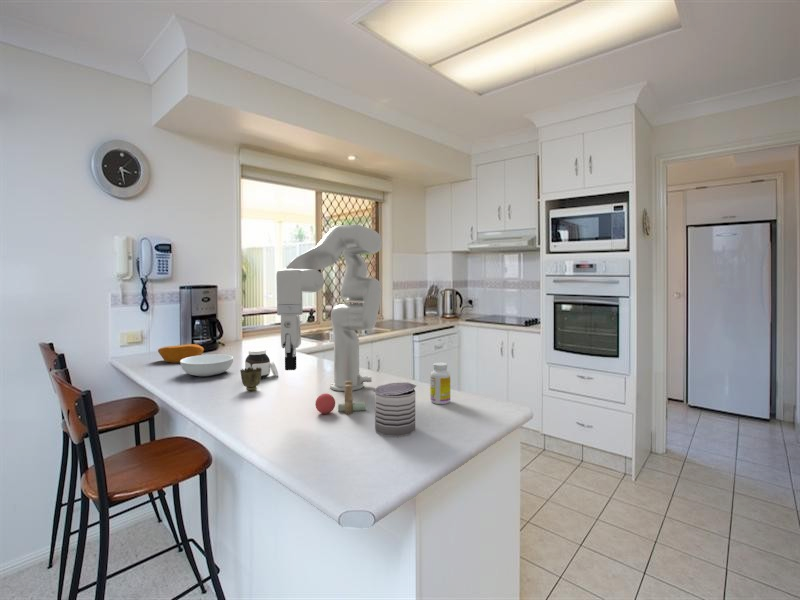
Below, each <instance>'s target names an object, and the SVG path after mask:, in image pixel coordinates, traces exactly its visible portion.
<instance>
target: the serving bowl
mask: <svg viewBox="0 0 800 600" xmlns="http://www.w3.org/2000/svg"><path fill="white" fill-rule="evenodd" d="M233 362H234V356H233V355H229V354H219V353H218V354H215V353H214V354H213V353H212V354H211V353H210V354H202V355H199V356H192V357H187V358H184V359H182V360H180V363H179V364H180V367H181V369H182V371H184V372H185V373H186V374H189V375H192V376H197V377H212V376H217V375H218V374H223V373H225V372H226V371H228V370H229V369H230V368H231V367H232V364H233Z"/></svg>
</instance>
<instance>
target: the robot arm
mask: <svg viewBox="0 0 800 600" xmlns="http://www.w3.org/2000/svg"><path fill="white" fill-rule="evenodd" d="M382 244H383V242H382V238H381V235H380V234H379V232H378V231H376V230H373V229H371V228H369V227H367V226H364V225H361V224H342V225H335V226H334V227H332V228H330V229H329V231H328V232H327V233H326V234H325V235H324V236H323V238H322V239H320V241H319V242H318V243H317V244H316V246H315V247H312V248H310V249H309V250H307V251H305V252H303V253H301V254H300V255H298V256H295V258H293V259H292V260H290V261H289V263H288V264H287V265H286V266H285V267H284V268H283V269H282V268H281V269H279V270H277V271H276V280H275V281H276V315H277V316H280V345H281V346H280V347H281V348H282V349H284V370H285V371H296V369H297V356H296V355H297V348H299V347H300V346H301V344H302V337H301V336H302V335H301V317H300V316H302V315H303V314H304V313H303V293H317V292H319V291H320V290H322V288H323V286H324V284H325V279H324V278H325V277H324V275H323V273H321V272H320V270H323V269H326V268H328V267H332V266H333V265H334V264H336V263H337V261H338V259H339V258H340V257H341V255H343V258H344V261H345V270H344V275H343V280H342V285H341V289H340V297H341V299H342V300H343V301H344V302H347V303H342V304H338V305H335V306H334V307H333V308H332V309H331V312H330V313H331V314H330V320H331V326H332V330H333V363H334V364H333V367H334V368H333V369H334V370H333V371H334V372H333V374H334V375H333V377H334V379H333V382H331V383H330V385H329V388H330V389H331V390H333V391H338V392H345V381H352V389H353V391H358V390H361V389H362V388H364V386H365V385H364V383H372V380H373V378H372V376H368V375H367V376H362V375H361V373H360V339H359V336H358V334H357V332H356V331H371V330H372V329H374V328H375V326H376V323H377V322H378V321H377V320H378V317H379V316H378V315H379V309H380V305H381V300H382V296H383V294H382V292H383V289H382V285H381V283H380V281H379V280H378V279H377V278H374V277H367V276H368V265H367V263H366V261H365V260H364V258H363V257H362V255H368V254H369V255H371V254H373V255H374V254H377V253H378V252H380V250H381V249H382ZM352 303H353V304H352ZM357 303H360V304H357Z"/></svg>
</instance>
